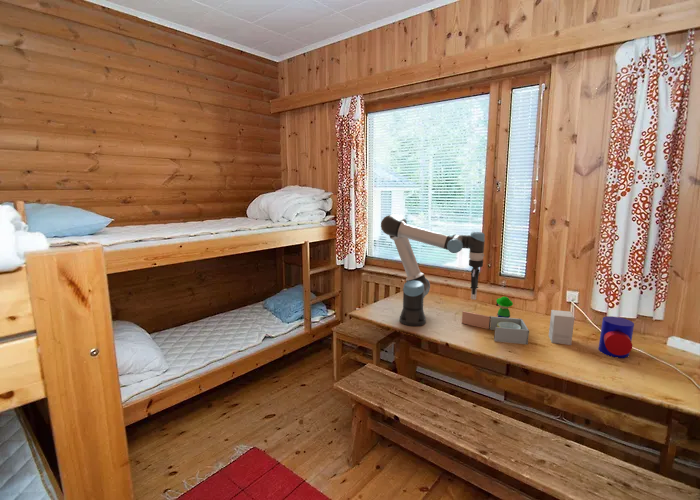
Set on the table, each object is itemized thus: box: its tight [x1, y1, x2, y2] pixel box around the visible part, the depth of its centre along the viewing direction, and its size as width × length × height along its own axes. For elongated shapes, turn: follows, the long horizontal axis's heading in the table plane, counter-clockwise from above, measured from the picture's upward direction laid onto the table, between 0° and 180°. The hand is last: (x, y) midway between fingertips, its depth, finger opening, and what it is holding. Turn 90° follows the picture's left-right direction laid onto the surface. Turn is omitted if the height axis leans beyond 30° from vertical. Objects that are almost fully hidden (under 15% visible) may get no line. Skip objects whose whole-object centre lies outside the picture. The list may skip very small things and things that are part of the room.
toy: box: [495, 296, 514, 318], centre depth 209 cm, size 9×9×15 cm
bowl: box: [497, 322, 521, 329], centre depth 189 cm, size 11×12×6 cm
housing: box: [489, 315, 530, 345], centre depth 189 cm, size 16×16×8 cm
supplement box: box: [548, 309, 575, 346], centre depth 184 cm, size 9×9×15 cm
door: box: [461, 310, 491, 330], centre depth 203 cm, size 2×16×7 cm, turn 57°
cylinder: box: [598, 315, 635, 359], centre depth 171 cm, size 20×12×16 cm, turn 149°
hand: (473, 299), depth 206 cm, fingers closed
